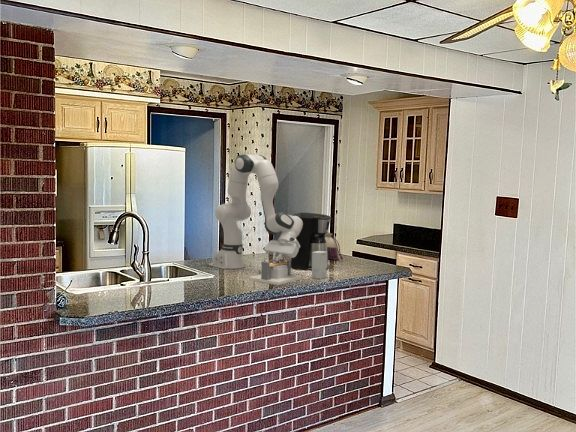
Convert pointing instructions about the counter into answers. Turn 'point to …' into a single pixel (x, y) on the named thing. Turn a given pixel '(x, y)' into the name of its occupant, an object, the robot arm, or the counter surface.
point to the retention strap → (277, 264)
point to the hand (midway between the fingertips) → (274, 260)
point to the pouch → (332, 247)
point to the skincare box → (319, 264)
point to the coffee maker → (310, 239)
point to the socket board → (276, 281)
